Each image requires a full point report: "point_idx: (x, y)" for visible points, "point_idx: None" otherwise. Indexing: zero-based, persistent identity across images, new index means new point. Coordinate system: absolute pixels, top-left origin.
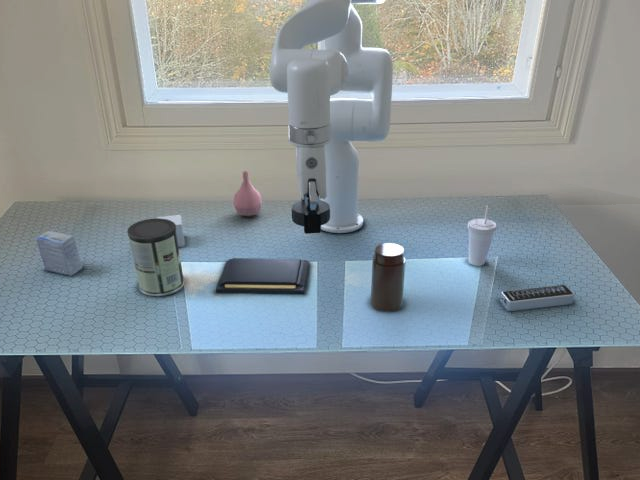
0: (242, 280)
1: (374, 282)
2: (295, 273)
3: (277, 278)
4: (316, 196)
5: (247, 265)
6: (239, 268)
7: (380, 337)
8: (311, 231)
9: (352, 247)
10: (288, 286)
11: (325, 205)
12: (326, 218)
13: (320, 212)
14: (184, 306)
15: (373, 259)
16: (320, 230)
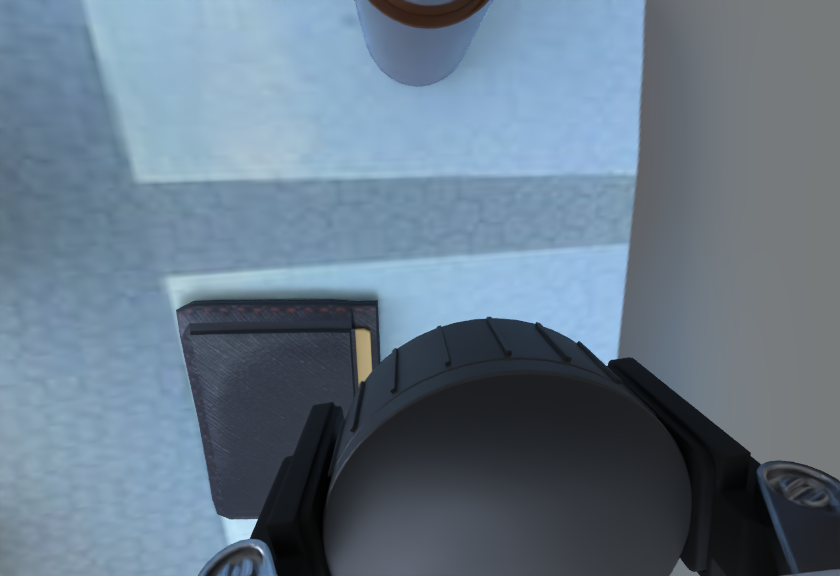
0: None
1: (460, 47)
2: (295, 339)
3: (333, 385)
4: (279, 530)
5: (266, 472)
6: None
7: (615, 55)
8: None
9: (16, 157)
10: (362, 348)
11: (484, 415)
12: (585, 354)
13: (727, 456)
14: None
15: (433, 21)
16: (636, 363)
